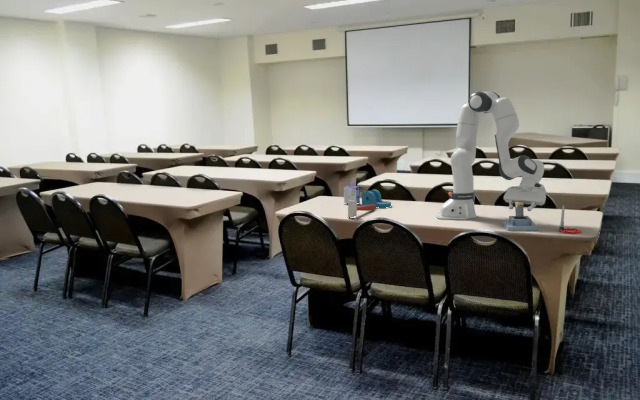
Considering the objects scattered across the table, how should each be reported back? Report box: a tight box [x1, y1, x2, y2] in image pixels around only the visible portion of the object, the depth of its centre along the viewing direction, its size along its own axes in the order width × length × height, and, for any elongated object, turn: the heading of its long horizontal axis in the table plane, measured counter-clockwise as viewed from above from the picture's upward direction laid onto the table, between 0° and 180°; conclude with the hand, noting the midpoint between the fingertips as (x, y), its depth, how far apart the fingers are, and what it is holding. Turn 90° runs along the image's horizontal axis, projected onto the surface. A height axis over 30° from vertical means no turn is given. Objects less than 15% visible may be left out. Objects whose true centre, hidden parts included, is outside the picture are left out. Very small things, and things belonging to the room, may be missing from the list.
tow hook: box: [558, 205, 582, 235], centre depth 247 cm, size 8×13×9 cm
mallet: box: [347, 200, 377, 218], centre depth 315 cm, size 11×4×30 cm
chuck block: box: [502, 215, 539, 232], centre depth 261 cm, size 14×14×5 cm
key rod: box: [514, 201, 525, 219], centre depth 260 cm, size 4×4×11 cm
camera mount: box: [361, 188, 392, 209], centre depth 337 cm, size 18×10×10 cm, turn 57°
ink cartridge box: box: [343, 182, 361, 204], centre depth 349 cm, size 10×6×14 cm, turn 57°
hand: (519, 209), depth 259 cm, fingers open, 8 cm apart
